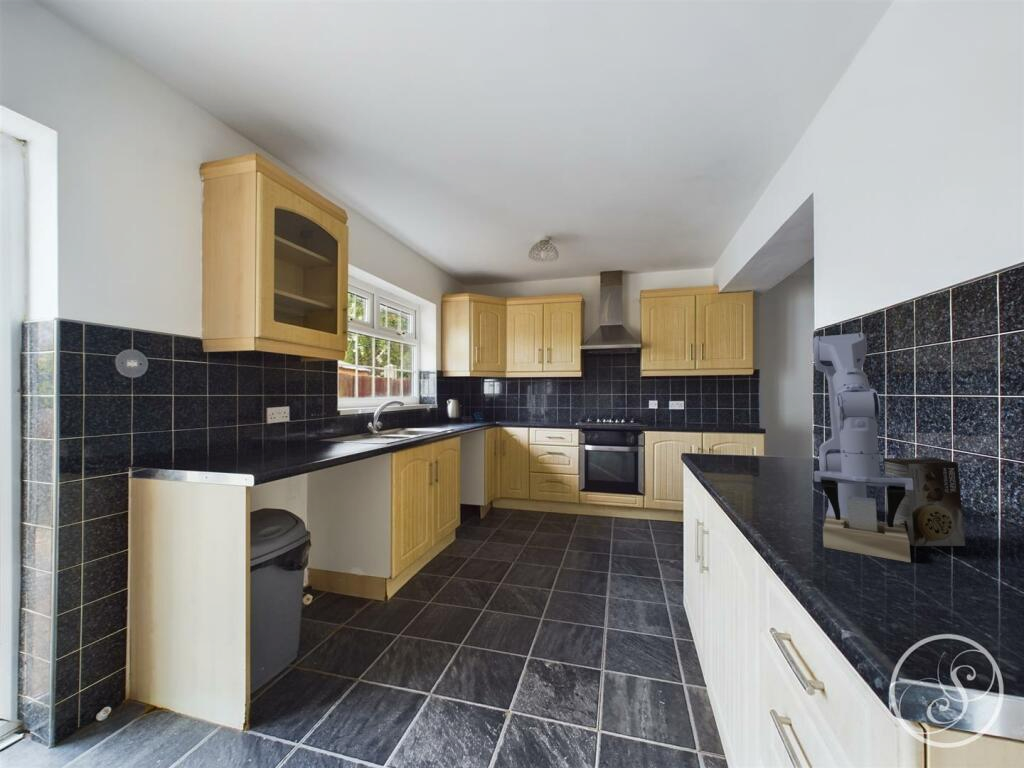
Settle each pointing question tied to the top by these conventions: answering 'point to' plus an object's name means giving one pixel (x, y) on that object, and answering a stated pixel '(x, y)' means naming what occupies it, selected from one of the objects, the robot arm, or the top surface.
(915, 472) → the coffee box
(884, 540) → the block
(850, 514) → the grey brushed square bar
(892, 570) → the top surface
